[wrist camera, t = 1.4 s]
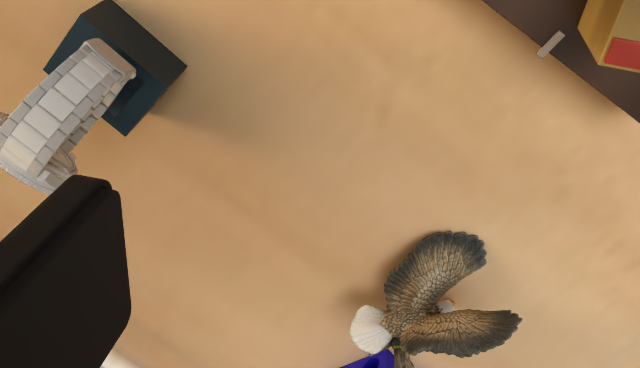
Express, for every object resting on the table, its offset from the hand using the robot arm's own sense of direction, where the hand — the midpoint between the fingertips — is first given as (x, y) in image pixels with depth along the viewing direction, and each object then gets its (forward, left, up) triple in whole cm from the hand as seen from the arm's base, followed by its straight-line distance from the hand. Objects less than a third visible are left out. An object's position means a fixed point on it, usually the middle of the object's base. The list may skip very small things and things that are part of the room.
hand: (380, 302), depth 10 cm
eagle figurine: (+20, -3, -24) cm, 32 cm away
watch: (+1, -17, -24) cm, 30 cm away
